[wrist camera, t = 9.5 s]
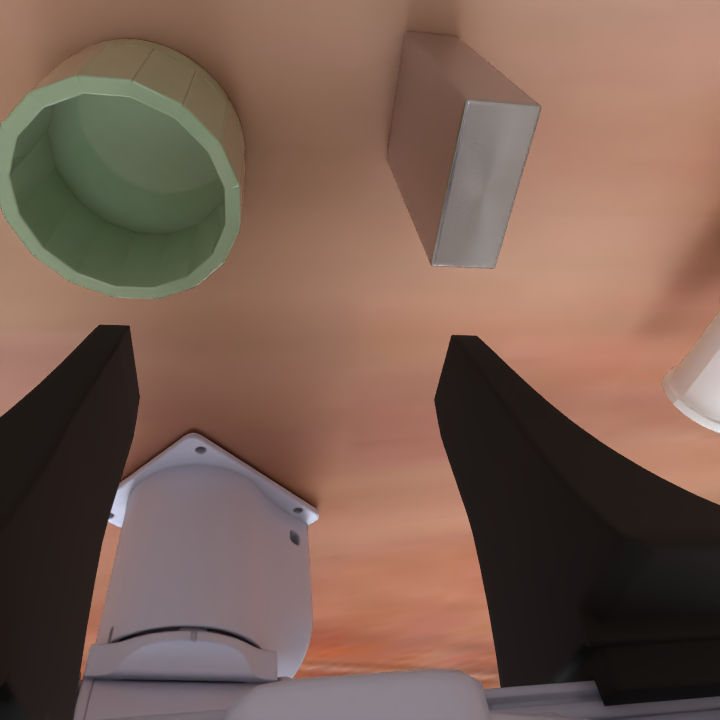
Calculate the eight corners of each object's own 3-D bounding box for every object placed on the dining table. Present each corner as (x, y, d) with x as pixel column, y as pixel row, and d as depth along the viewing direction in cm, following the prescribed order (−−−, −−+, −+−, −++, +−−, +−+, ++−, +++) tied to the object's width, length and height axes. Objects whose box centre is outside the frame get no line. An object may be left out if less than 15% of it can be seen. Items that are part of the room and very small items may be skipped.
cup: (284, 155, 21) (287, 210, 17) (160, 264, 23) (141, 333, 19) (130, -13, 17) (96, 14, 14) (0, 135, 19) (-59, 191, 16)
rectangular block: (462, 36, 19) (548, 106, 13) (437, 164, 22) (499, 270, 16) (404, 30, 19) (466, 98, 13) (386, 160, 21) (430, 267, 15)
